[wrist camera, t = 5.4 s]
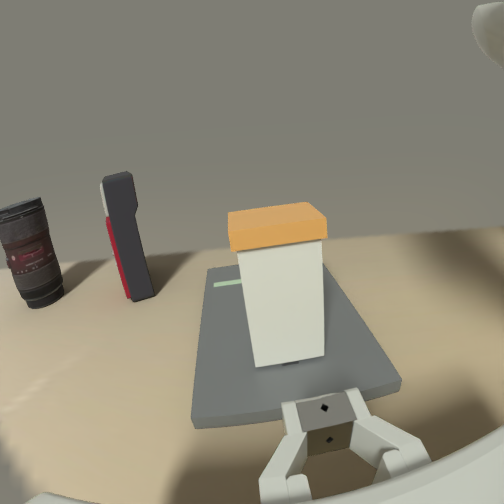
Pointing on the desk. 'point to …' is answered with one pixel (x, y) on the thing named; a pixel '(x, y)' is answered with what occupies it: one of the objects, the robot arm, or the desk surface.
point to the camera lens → (31, 252)
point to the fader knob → (281, 279)
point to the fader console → (285, 374)
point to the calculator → (126, 235)
